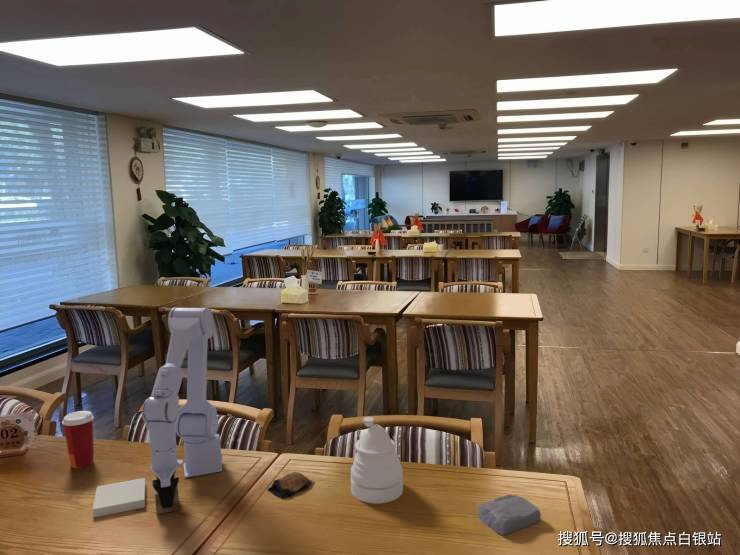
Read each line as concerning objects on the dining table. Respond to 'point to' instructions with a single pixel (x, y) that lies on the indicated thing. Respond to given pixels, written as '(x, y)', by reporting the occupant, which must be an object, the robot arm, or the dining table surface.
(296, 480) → the brown rounded lump
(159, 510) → the walnut block
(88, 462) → the paper cup
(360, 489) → the honey pot
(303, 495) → the dining table surface
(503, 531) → the stone block
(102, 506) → the stoneware tile
